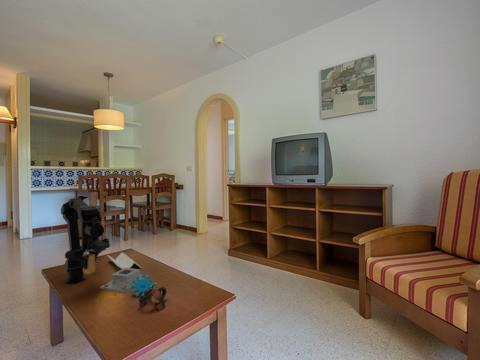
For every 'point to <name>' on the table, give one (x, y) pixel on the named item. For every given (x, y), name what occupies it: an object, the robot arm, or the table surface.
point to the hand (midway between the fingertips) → (89, 267)
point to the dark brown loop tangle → (156, 295)
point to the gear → (142, 285)
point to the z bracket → (123, 261)
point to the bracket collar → (123, 280)
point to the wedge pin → (90, 264)
